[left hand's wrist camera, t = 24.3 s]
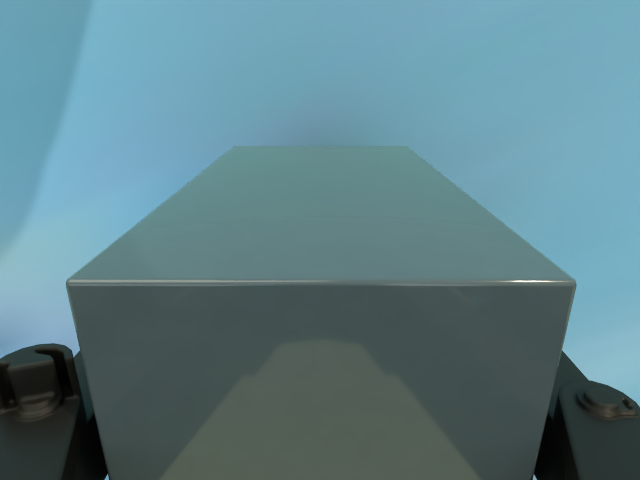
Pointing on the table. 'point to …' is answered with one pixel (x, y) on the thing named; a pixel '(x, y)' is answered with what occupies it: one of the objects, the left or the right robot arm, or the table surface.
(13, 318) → the table surface
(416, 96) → the table surface
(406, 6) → the table surface
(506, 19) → the table surface
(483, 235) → the block
